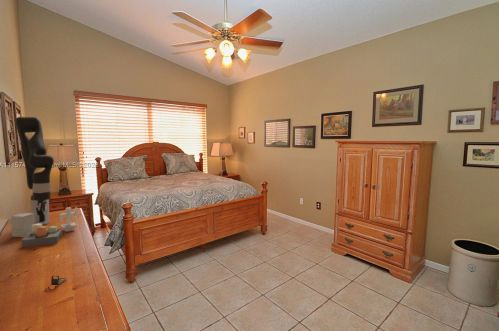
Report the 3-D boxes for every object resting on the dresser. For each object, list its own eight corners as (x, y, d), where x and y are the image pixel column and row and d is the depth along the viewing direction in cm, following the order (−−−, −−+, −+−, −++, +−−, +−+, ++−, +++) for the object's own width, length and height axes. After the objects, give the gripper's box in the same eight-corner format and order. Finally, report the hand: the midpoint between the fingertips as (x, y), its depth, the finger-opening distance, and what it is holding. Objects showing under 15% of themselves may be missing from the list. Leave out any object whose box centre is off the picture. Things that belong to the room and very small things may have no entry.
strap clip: (60, 279, 100) (60, 269, 100) (67, 280, 100) (67, 270, 100) (42, 291, 91) (42, 281, 91) (50, 292, 91) (50, 281, 91)
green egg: (48, 236, 142) (48, 226, 142) (58, 235, 144) (57, 225, 144) (46, 238, 138) (46, 228, 138) (56, 237, 140) (56, 227, 140)
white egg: (33, 234, 138) (33, 223, 138) (43, 233, 141) (42, 223, 140) (30, 236, 135) (30, 226, 134) (40, 235, 137) (40, 225, 136)
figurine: (58, 230, 154) (58, 207, 153) (76, 227, 160) (76, 205, 159) (60, 233, 149) (60, 209, 148) (78, 230, 155) (78, 207, 154)
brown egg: (38, 236, 135) (37, 226, 134) (48, 235, 137) (47, 225, 136) (35, 239, 131) (35, 228, 130) (45, 238, 133) (45, 227, 133)
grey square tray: (30, 238, 139) (30, 231, 139) (62, 234, 147) (62, 228, 146) (21, 247, 127) (21, 240, 127) (57, 243, 134) (57, 236, 134)
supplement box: (35, 233, 147) (34, 213, 146) (22, 237, 140) (22, 216, 139) (24, 232, 148) (24, 212, 147) (11, 236, 141) (10, 215, 140)
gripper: (36, 189, 136) (36, 219, 137) (28, 193, 125) (29, 225, 126) (53, 188, 140) (53, 217, 141) (47, 192, 128) (47, 224, 129)
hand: (42, 221), depth 133 cm, fingers closed
